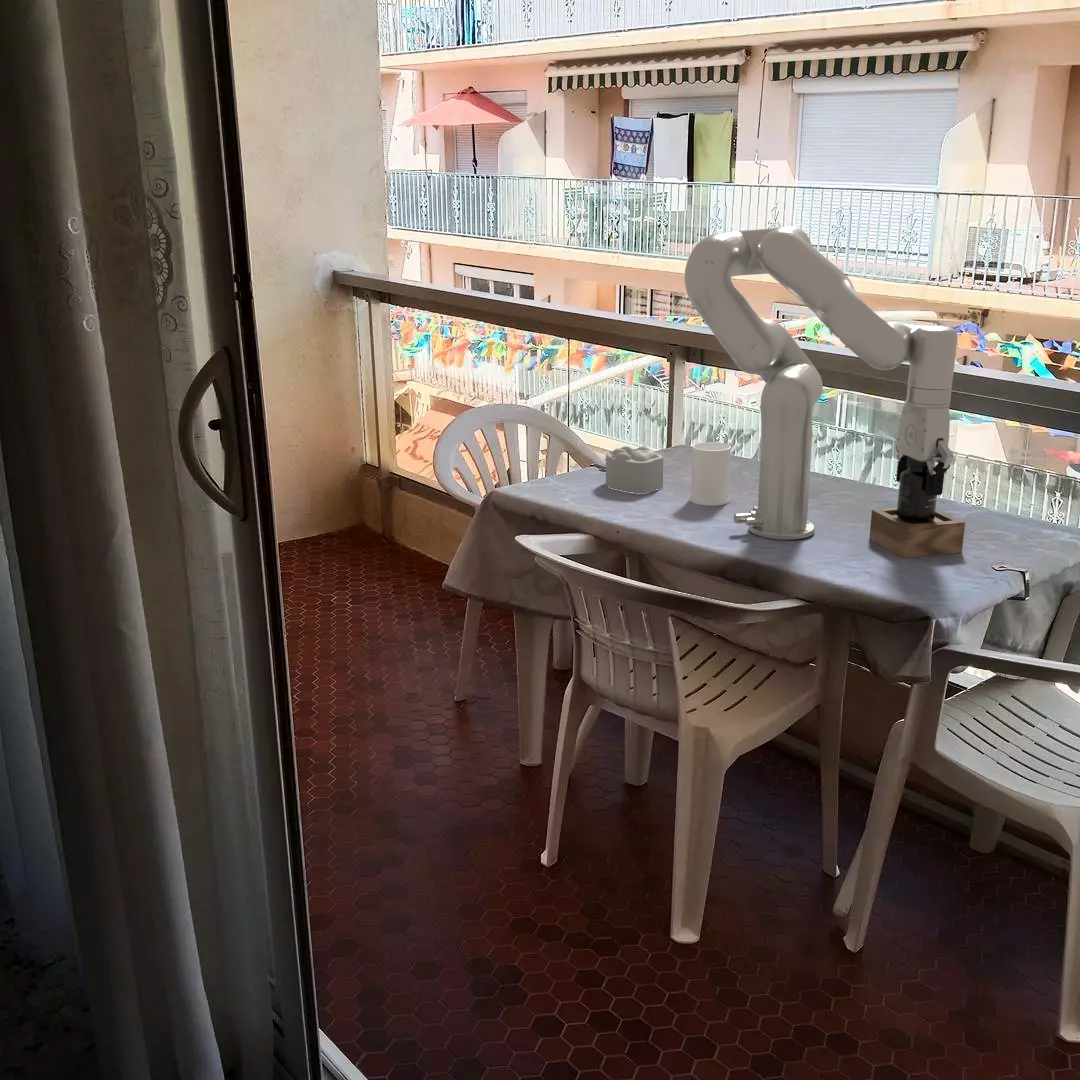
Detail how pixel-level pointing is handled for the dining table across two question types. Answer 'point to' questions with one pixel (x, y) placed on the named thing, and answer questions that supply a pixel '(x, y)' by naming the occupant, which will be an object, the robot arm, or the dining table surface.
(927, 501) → the supplement bottle
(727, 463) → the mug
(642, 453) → the lumpy-topped squat cylinder
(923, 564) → the dining table surface
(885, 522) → the display plinth
